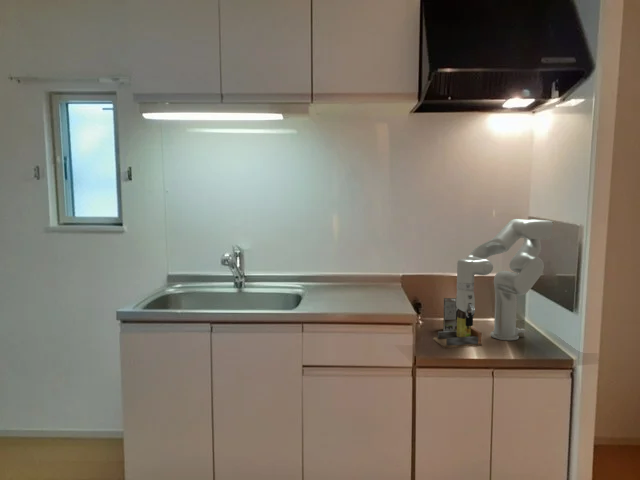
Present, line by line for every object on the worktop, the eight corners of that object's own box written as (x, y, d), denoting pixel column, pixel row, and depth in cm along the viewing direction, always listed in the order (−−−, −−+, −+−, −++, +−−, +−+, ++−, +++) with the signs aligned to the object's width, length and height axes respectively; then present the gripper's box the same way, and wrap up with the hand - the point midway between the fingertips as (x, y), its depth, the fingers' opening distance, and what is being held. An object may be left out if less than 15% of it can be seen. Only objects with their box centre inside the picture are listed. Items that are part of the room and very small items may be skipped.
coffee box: (457, 334, 229) (458, 302, 227) (443, 334, 230) (444, 301, 229) (456, 329, 238) (457, 297, 236) (442, 328, 239) (443, 297, 237)
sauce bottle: (468, 343, 214) (470, 300, 212) (454, 341, 217) (456, 298, 215) (471, 339, 220) (473, 297, 218) (458, 337, 223) (459, 295, 221)
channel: (469, 337, 225) (469, 325, 225) (481, 345, 213) (482, 333, 213) (433, 339, 222) (433, 327, 222) (444, 347, 210) (444, 335, 210)
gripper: (482, 289, 208) (481, 327, 209) (464, 282, 225) (463, 317, 226) (466, 290, 206) (465, 328, 208) (449, 282, 223) (448, 318, 225)
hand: (464, 322), depth 217 cm, fingers open, 9 cm apart
